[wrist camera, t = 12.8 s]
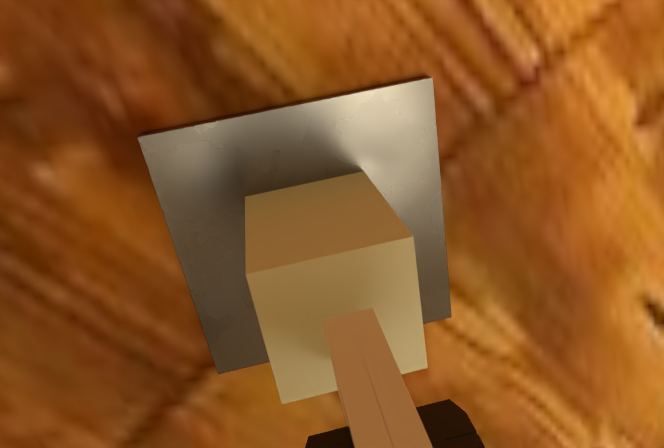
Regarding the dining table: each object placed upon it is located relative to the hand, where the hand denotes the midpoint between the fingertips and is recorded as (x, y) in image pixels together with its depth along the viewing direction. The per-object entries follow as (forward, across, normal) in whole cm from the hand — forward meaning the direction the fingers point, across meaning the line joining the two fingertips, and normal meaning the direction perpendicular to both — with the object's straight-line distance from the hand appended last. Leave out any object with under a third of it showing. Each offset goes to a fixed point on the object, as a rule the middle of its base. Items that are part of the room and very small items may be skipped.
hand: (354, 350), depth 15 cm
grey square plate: (+9, 0, 0) cm, 9 cm away
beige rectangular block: (+8, 0, 0) cm, 8 cm away
